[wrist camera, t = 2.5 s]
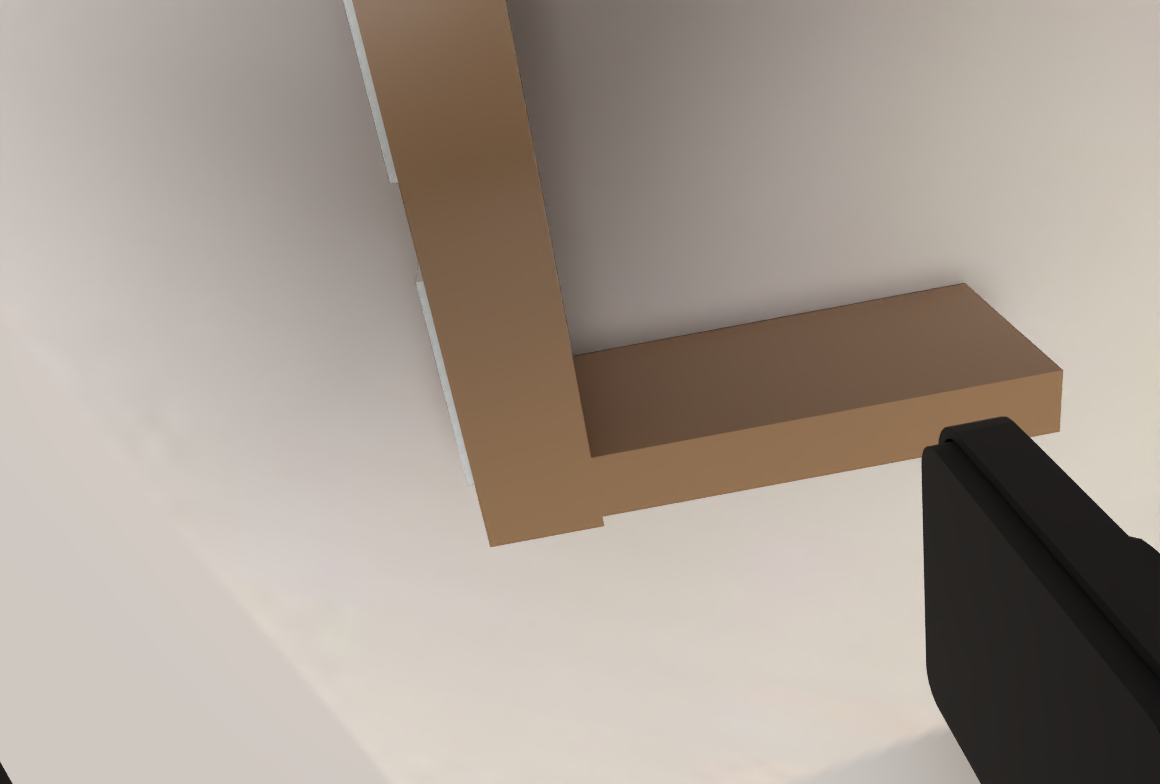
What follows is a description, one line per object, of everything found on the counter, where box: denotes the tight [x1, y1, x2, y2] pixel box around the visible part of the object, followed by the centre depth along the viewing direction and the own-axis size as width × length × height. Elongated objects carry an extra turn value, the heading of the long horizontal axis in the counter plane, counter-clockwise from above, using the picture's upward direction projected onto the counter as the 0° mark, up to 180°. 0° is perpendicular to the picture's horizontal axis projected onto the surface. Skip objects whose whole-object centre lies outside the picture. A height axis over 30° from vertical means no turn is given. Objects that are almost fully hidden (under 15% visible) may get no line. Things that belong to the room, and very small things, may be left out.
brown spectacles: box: [343, 0, 1063, 547], centre depth 22 cm, size 14×13×5 cm
